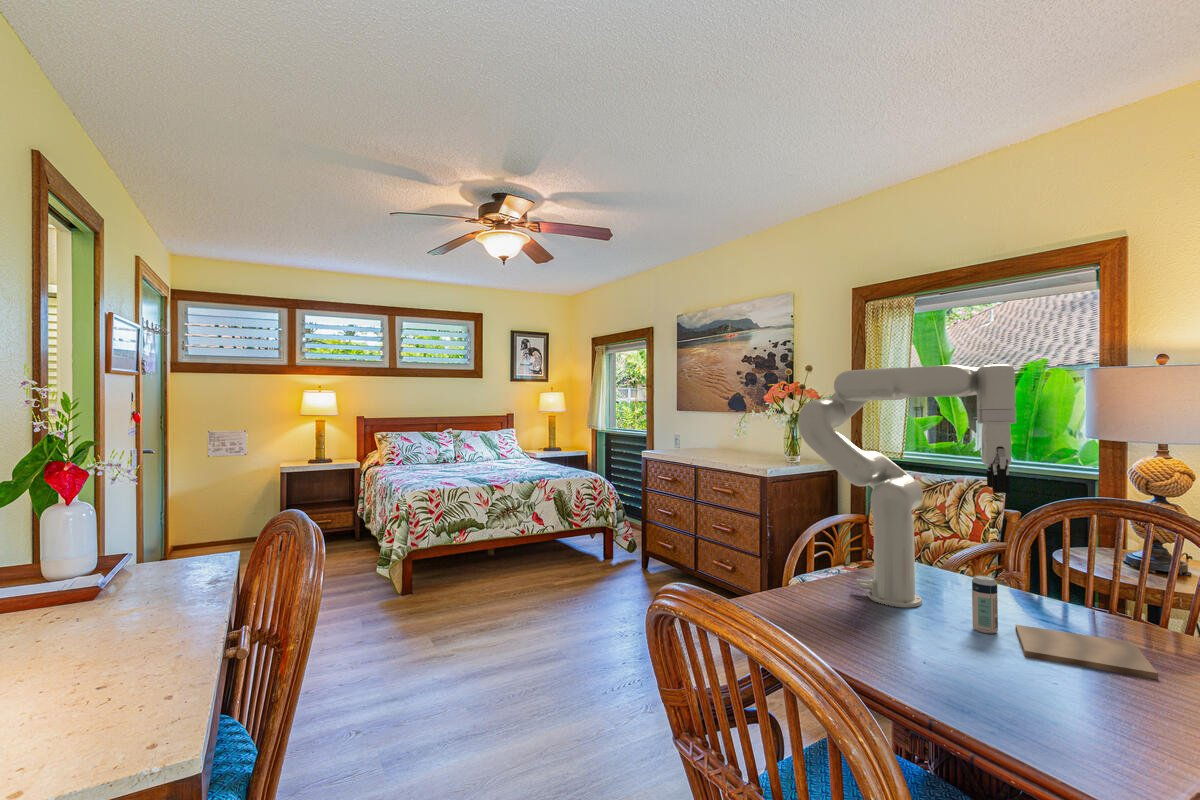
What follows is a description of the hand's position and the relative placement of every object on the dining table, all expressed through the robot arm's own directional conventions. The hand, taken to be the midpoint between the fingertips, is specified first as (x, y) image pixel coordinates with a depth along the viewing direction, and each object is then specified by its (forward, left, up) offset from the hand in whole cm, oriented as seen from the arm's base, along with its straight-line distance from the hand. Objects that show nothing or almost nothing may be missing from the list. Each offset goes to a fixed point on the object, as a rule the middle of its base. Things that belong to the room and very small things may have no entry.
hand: (998, 489), depth 135 cm
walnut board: (+13, -12, -31) cm, 35 cm away
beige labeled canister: (-3, -8, -31) cm, 32 cm away
